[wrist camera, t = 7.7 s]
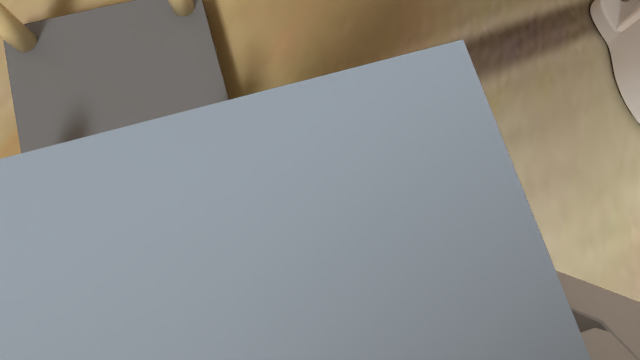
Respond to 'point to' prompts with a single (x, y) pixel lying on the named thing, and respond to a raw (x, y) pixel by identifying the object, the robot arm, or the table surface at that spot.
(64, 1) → the table surface
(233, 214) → the slate block
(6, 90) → the table surface
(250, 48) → the table surface
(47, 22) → the grey peg base
